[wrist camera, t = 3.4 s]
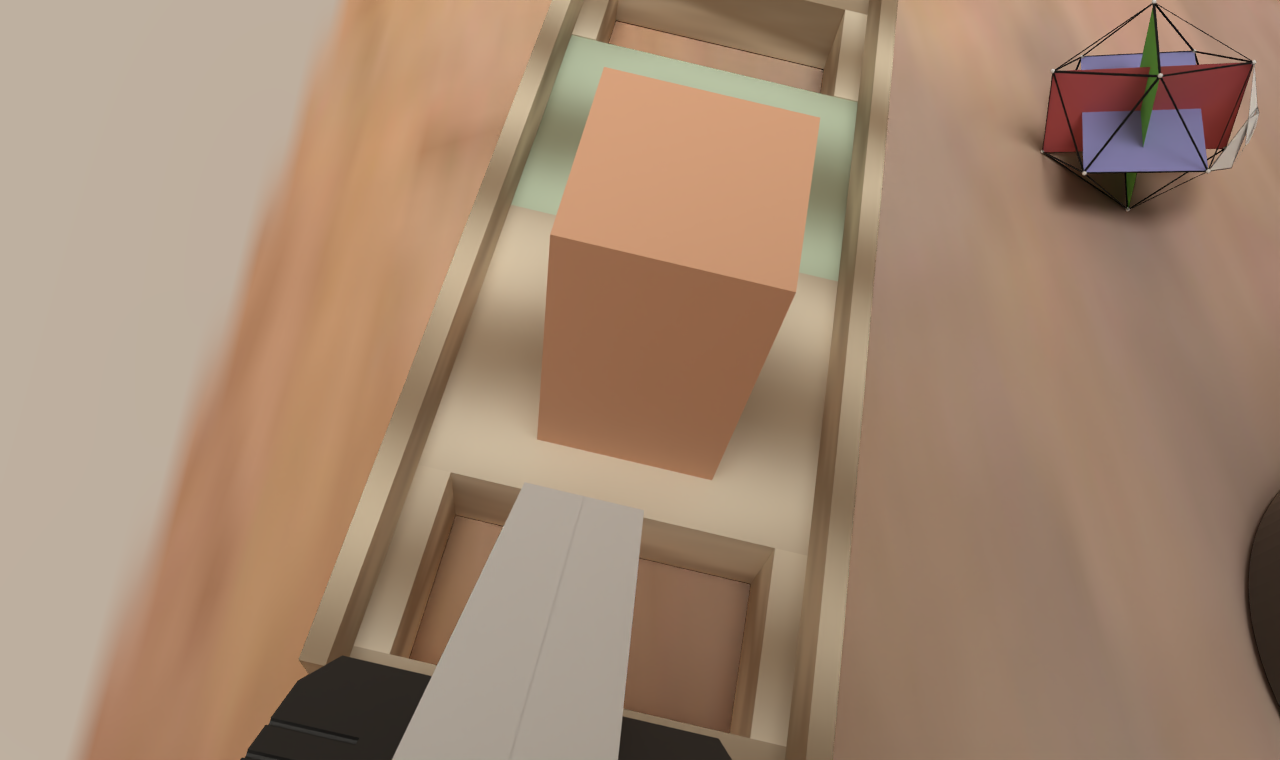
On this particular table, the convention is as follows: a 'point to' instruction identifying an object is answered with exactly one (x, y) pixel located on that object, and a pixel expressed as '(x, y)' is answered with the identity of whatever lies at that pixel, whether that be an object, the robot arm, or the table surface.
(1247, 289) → the table surface
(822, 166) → the beige open frame
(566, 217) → the block
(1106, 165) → the icosahedron model
